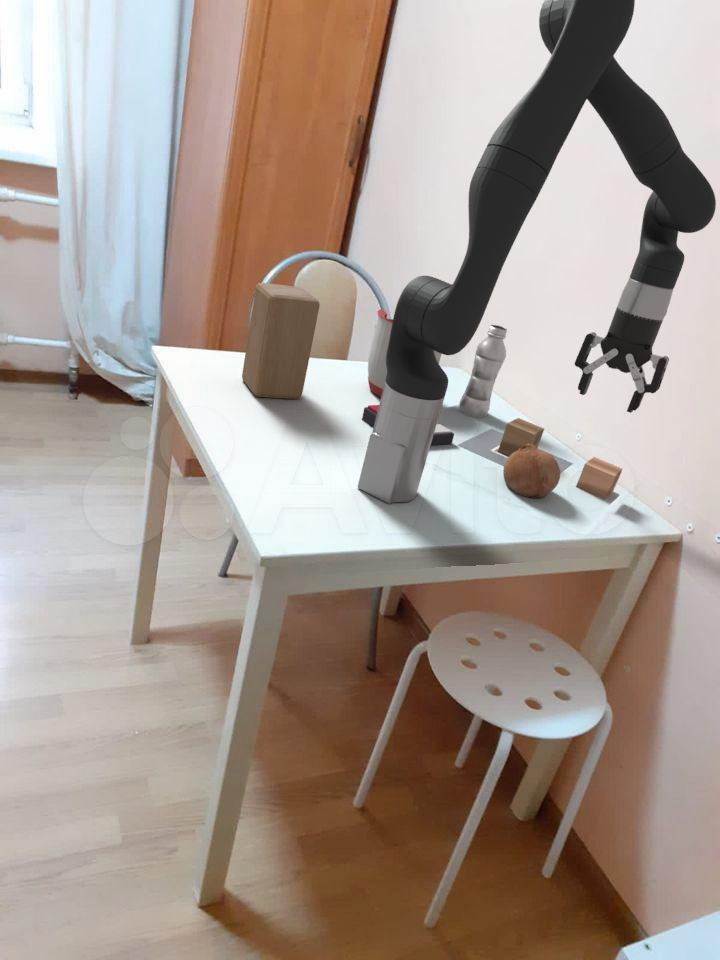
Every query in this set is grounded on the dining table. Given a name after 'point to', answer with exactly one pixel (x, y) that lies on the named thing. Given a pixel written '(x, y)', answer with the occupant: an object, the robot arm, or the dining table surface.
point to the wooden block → (279, 340)
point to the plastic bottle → (484, 373)
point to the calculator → (439, 438)
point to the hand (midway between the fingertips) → (606, 402)
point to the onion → (531, 472)
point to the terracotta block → (599, 477)
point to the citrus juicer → (381, 353)
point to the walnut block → (519, 436)
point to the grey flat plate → (489, 446)
